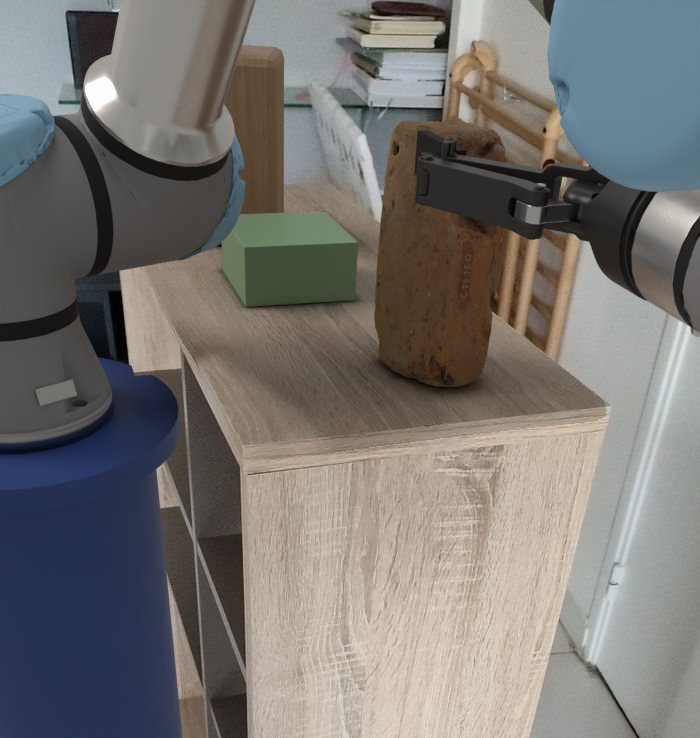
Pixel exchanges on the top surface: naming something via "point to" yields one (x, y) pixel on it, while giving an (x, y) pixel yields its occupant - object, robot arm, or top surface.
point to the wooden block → (259, 126)
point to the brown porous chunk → (435, 267)
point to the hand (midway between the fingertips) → (510, 150)
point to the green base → (290, 259)
